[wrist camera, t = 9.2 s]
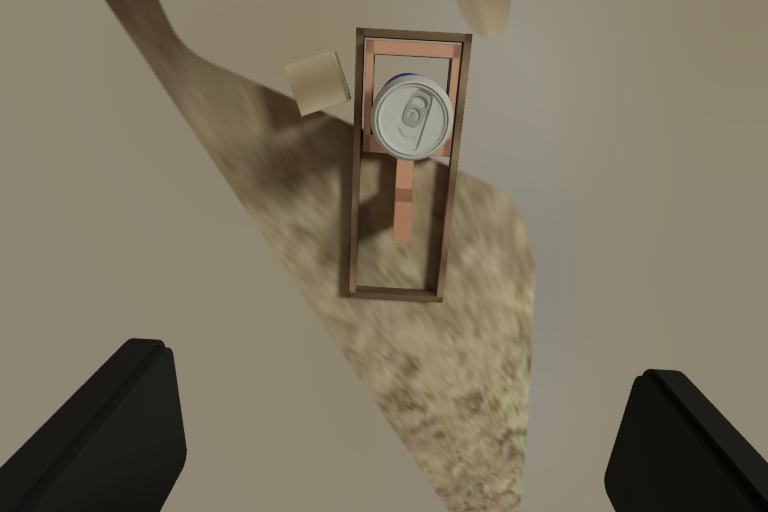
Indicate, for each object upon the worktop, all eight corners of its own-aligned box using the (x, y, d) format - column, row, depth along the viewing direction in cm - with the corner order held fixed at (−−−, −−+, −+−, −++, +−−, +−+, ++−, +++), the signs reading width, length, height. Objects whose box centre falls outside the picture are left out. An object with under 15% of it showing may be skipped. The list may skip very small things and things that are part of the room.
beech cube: (294, 67, 41) (283, 66, 37) (336, 52, 40) (330, 50, 37) (310, 112, 42) (301, 116, 39) (351, 98, 42) (346, 101, 38)
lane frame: (357, 29, 40) (356, 27, 38) (469, 35, 39) (472, 34, 38) (350, 290, 49) (349, 297, 48) (440, 295, 49) (442, 302, 47)
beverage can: (419, 142, 43) (430, 177, 29) (369, 118, 42) (356, 141, 28) (445, 89, 41) (470, 99, 27) (393, 62, 40) (391, 59, 27)
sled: (368, 41, 40) (363, 36, 34) (457, 46, 40) (468, 42, 34) (362, 216, 46) (356, 238, 40) (439, 221, 46) (446, 244, 40)
